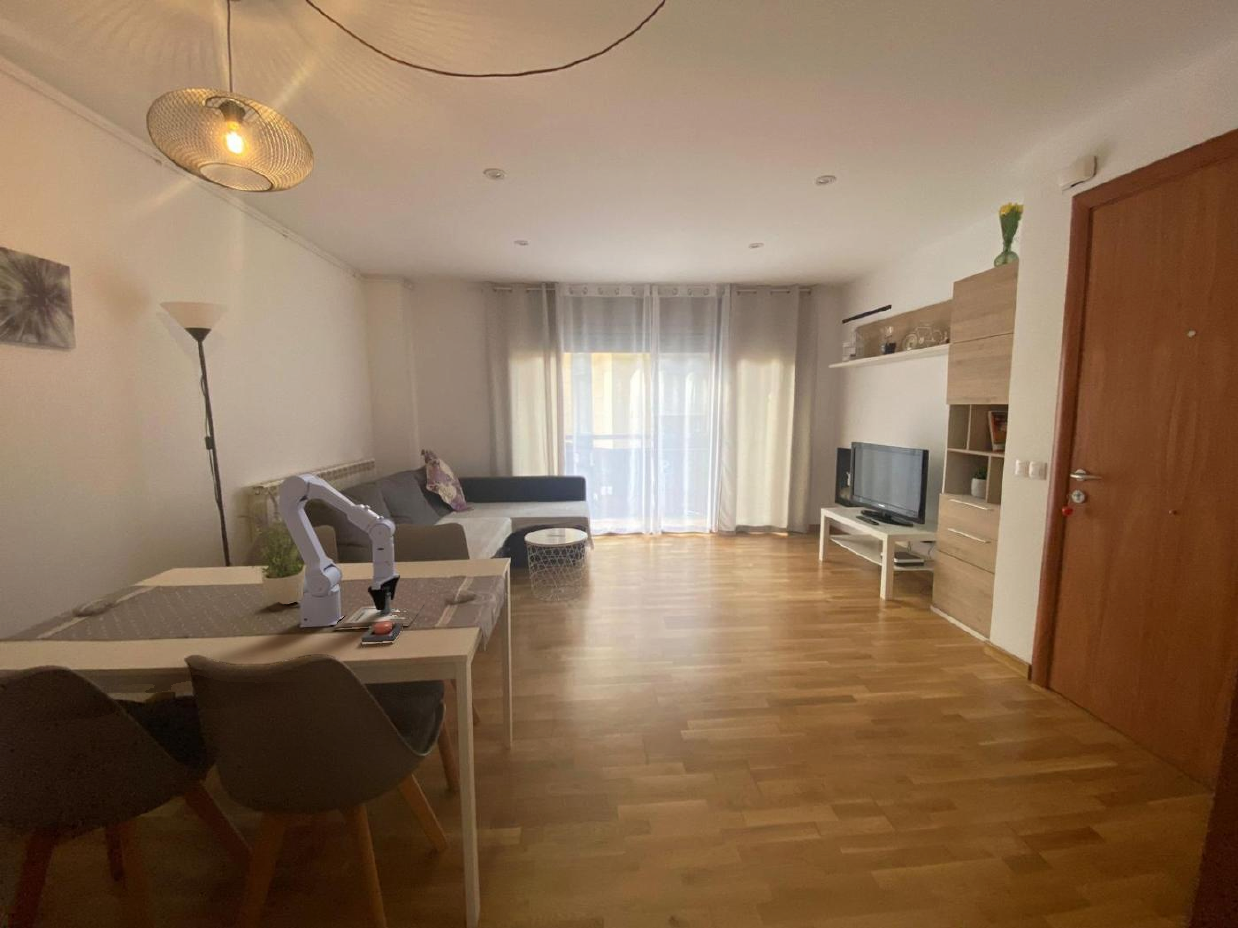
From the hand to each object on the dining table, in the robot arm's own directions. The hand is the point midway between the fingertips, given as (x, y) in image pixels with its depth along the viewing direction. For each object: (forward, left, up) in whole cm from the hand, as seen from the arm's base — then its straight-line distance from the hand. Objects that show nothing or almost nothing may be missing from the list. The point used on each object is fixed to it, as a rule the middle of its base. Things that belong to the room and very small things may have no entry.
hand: (385, 604), depth 138 cm
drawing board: (-1, 0, -4) cm, 4 cm away
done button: (+4, -14, -2) cm, 15 cm away
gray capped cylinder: (0, 0, -2) cm, 3 cm away
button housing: (+4, -14, -4) cm, 15 cm away
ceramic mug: (-32, +16, -4) cm, 36 cm away
